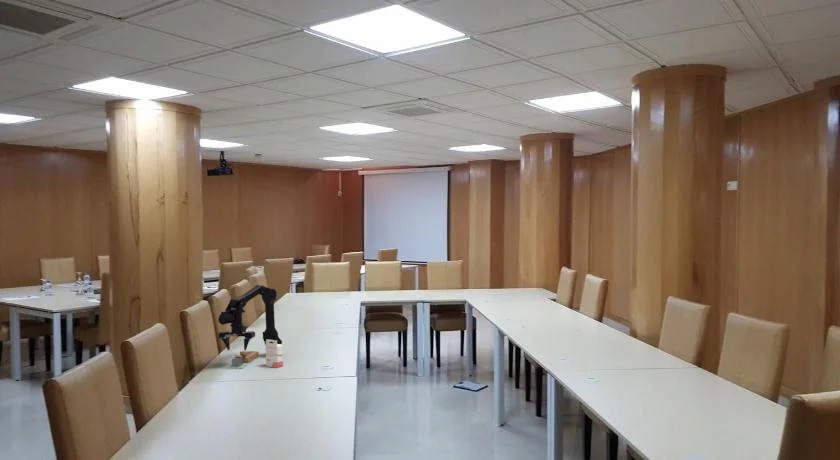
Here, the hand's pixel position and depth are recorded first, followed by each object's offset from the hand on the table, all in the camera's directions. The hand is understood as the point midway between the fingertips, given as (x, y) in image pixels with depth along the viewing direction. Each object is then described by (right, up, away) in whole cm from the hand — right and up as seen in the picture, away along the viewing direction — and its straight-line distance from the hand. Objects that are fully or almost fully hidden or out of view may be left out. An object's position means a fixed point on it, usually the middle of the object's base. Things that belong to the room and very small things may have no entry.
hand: (236, 350), depth 310 cm
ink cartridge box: (+20, -9, +1) cm, 22 cm away
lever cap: (0, -8, 0) cm, 8 cm away
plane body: (+1, -9, +14) cm, 17 cm away
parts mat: (0, -9, 0) cm, 9 cm away
